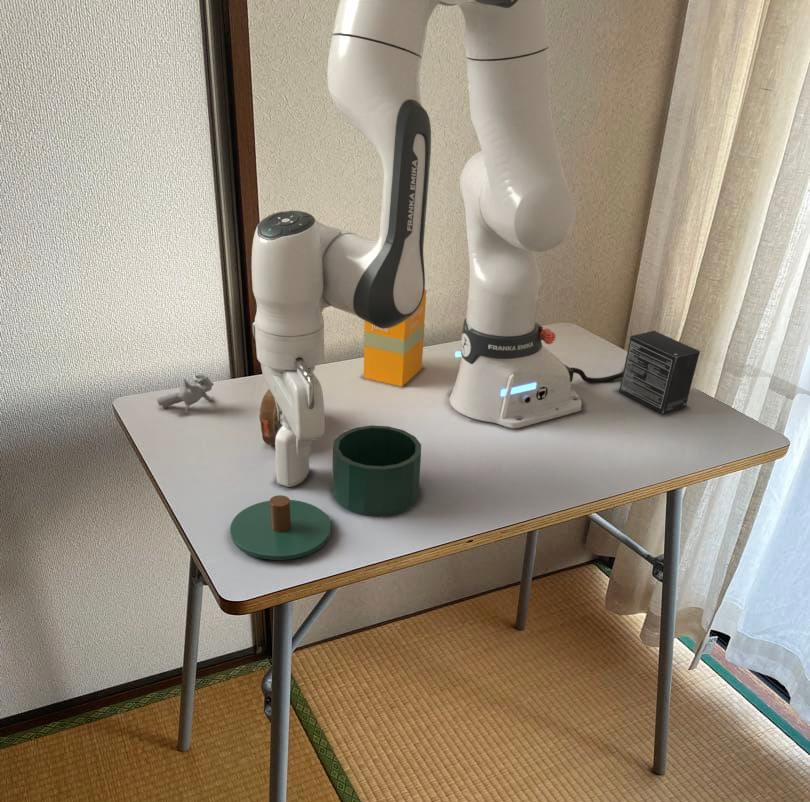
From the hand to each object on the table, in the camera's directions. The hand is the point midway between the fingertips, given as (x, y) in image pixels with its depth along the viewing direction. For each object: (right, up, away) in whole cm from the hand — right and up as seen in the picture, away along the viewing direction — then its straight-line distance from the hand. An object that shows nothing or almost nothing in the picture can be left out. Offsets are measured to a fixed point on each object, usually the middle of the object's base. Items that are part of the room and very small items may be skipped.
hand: (293, 438), depth 121 cm
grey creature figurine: (-19, +7, +19) cm, 28 cm away
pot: (+11, -7, +2) cm, 14 cm away
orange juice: (+13, +16, +35) cm, 40 cm away
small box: (+59, +10, +30) cm, 67 cm away
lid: (-1, -13, -8) cm, 15 cm away
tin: (-3, +3, +15) cm, 16 cm away
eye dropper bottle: (-1, -5, +4) cm, 7 cm away
